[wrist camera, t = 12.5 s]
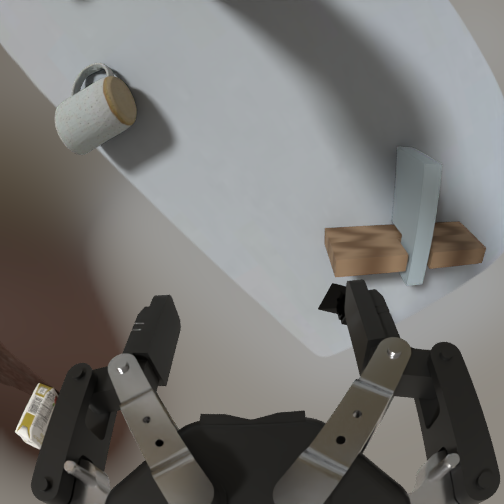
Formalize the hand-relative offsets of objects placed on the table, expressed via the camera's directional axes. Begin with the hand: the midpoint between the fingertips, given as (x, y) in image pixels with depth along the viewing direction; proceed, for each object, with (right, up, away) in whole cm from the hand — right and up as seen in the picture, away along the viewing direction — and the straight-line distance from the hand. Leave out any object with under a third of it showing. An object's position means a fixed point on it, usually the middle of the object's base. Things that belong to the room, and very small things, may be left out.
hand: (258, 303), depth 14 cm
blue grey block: (+20, +9, +25) cm, 34 cm away
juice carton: (-60, -39, +58) cm, 93 cm away
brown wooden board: (+21, +5, +28) cm, 35 cm away
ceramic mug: (-19, +22, +20) cm, 35 cm away
